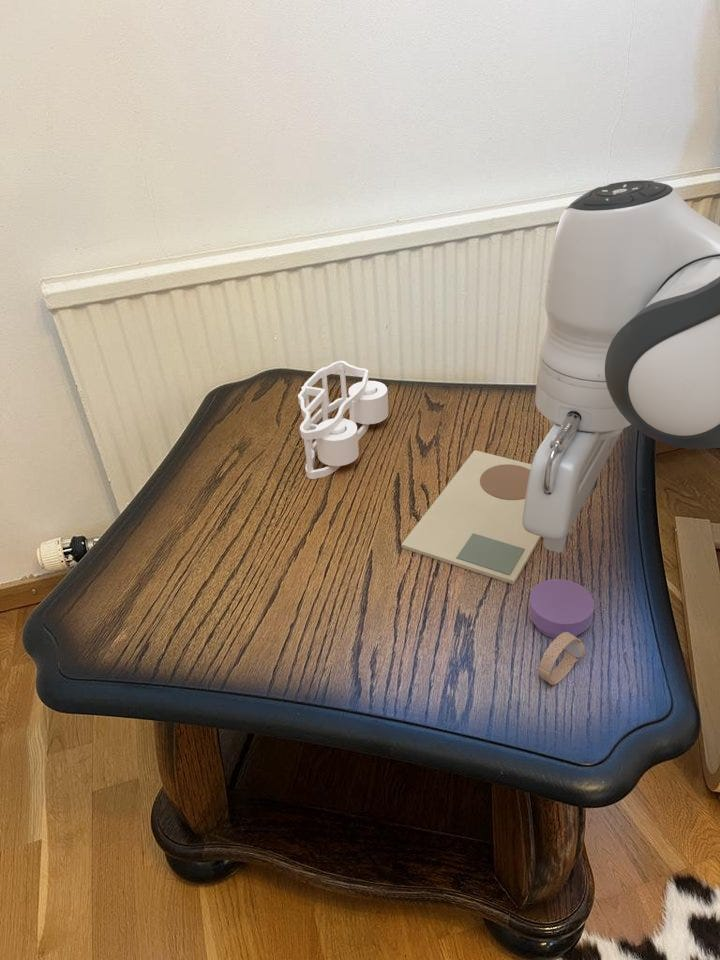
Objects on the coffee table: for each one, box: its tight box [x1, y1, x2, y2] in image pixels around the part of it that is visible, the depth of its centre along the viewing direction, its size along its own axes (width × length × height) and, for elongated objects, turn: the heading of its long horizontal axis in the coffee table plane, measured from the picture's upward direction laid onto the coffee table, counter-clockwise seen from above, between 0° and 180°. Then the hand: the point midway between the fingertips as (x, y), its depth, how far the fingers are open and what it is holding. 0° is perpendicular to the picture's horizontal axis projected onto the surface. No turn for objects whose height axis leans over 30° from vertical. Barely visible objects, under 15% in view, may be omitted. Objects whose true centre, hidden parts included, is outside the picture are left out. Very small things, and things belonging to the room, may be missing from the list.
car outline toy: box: [297, 360, 389, 480], centre depth 107 cm, size 20×11×7 cm, turn 157°
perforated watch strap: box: [537, 632, 586, 686], centre depth 72 cm, size 3×5×5 cm, turn 132°
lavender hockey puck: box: [527, 578, 595, 640], centre depth 78 cm, size 6×6×3 cm
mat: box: [400, 449, 542, 585], centre depth 94 cm, size 14×22×1 cm, turn 150°
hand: (571, 516), depth 71 cm, fingers open, 8 cm apart
